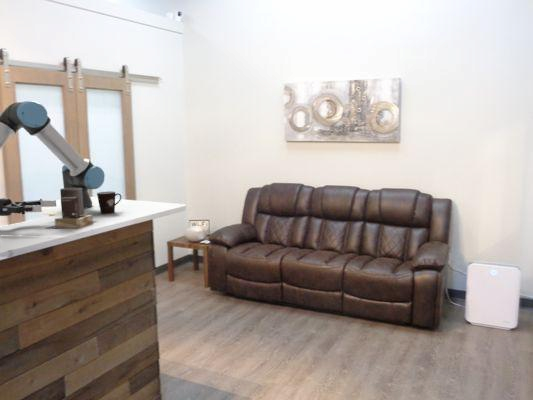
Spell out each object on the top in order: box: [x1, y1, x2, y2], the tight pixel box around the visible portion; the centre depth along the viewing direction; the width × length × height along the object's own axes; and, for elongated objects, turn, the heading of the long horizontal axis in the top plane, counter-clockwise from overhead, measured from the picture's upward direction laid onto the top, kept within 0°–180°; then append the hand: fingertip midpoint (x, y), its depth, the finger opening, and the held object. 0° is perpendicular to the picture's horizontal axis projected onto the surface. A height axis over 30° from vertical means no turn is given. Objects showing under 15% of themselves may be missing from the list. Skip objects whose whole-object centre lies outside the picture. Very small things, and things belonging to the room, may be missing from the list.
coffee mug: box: [96, 190, 122, 215], centre depth 246 cm, size 12×9×10 cm
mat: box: [44, 220, 98, 230], centre depth 216 cm, size 16×15×1 cm
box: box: [60, 197, 80, 219], centre depth 214 cm, size 6×4×12 cm
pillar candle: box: [59, 186, 85, 215], centre depth 235 cm, size 10×10×15 cm
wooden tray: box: [54, 214, 94, 229], centre depth 215 cm, size 10×12×4 cm
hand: (48, 205), depth 215 cm, fingers open, 13 cm apart
